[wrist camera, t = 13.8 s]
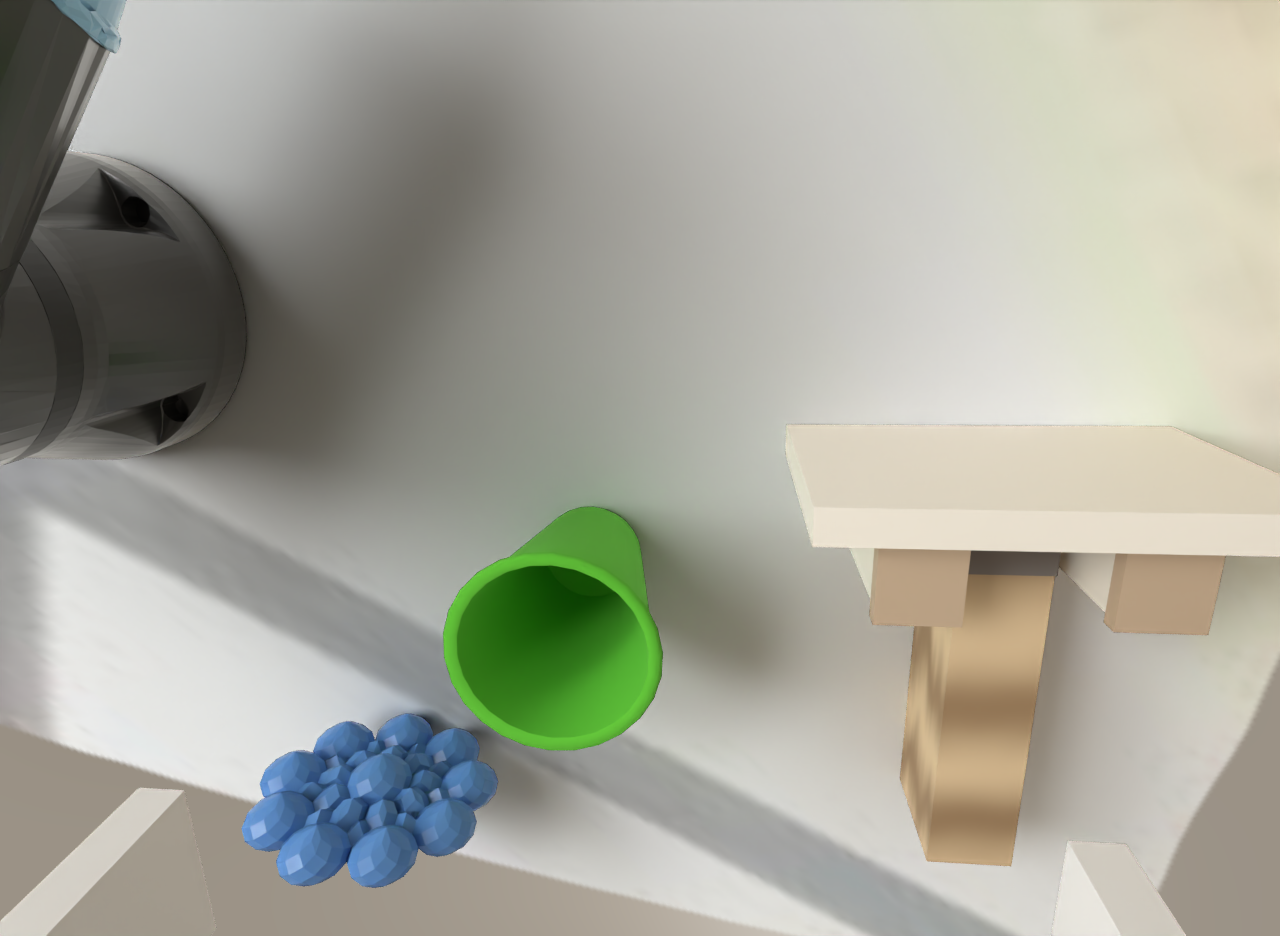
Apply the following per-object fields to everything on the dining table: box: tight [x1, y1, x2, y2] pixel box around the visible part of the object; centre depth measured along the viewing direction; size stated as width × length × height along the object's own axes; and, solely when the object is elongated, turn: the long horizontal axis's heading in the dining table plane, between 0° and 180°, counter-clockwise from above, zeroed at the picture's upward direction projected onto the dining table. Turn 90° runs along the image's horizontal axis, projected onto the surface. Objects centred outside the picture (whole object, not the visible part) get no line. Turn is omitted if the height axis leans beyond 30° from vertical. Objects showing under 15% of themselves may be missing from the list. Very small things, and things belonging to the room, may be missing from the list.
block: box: [900, 550, 1061, 866], centre depth 38 cm, size 18×4×6 cm, turn 1°
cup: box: [443, 507, 663, 750], centre depth 36 cm, size 9×9×11 cm
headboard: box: [785, 424, 1280, 635], centre depth 33 cm, size 18×6×12 cm, turn 91°
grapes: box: [242, 714, 498, 888], centre depth 41 cm, size 12×7×12 cm, turn 78°
